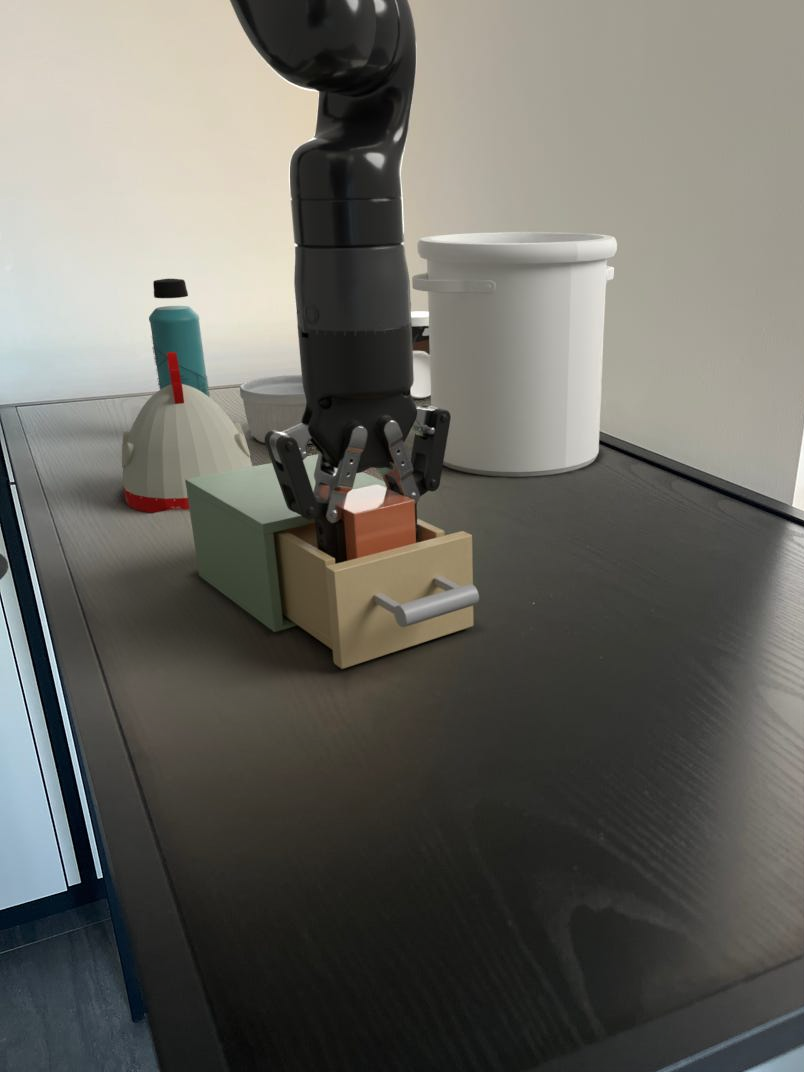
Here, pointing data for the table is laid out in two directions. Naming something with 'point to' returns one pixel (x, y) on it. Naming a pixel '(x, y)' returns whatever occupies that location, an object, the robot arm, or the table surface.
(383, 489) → the block
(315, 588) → the drawer
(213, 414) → the kitchen timer
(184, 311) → the beverage bottle
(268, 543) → the cabinet
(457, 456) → the bucket
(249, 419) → the ramekin
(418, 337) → the spread jar
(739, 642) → the table surface
